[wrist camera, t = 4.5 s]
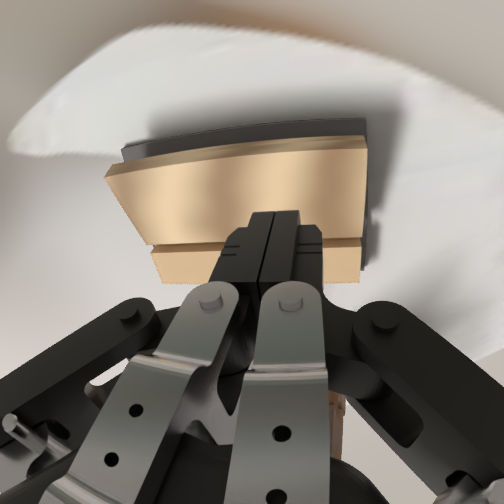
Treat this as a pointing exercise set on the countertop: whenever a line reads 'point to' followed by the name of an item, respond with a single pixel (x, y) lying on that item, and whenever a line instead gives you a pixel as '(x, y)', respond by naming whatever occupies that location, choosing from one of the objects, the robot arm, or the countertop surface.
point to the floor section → (207, 253)
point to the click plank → (244, 188)
